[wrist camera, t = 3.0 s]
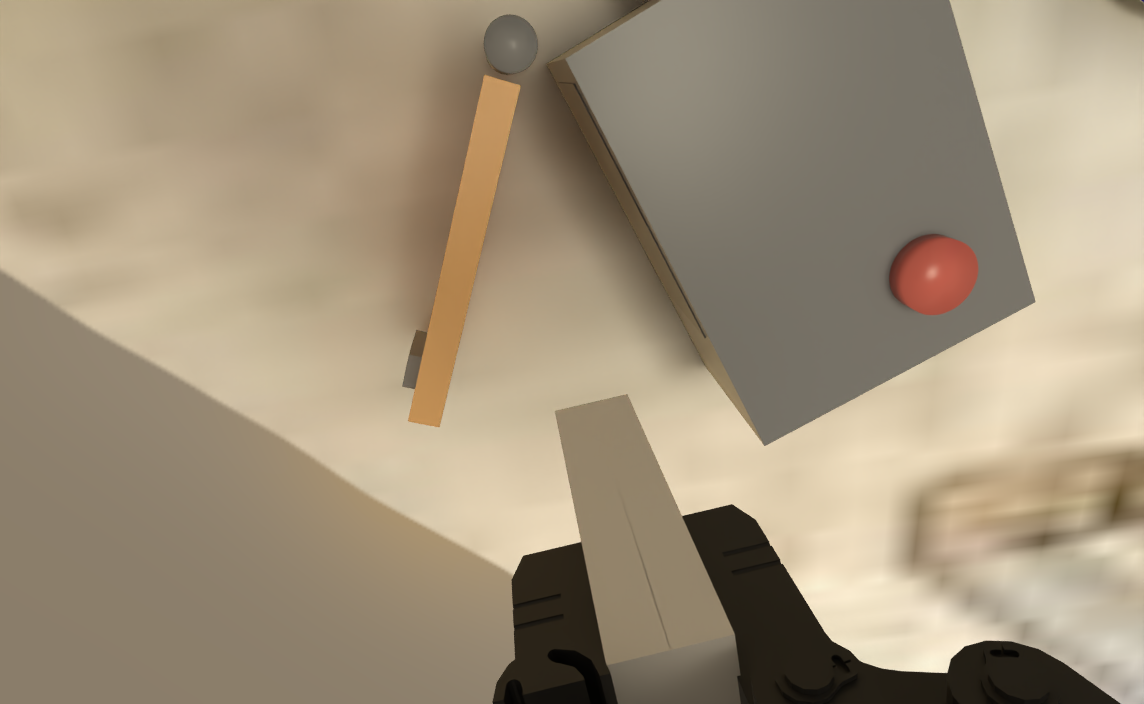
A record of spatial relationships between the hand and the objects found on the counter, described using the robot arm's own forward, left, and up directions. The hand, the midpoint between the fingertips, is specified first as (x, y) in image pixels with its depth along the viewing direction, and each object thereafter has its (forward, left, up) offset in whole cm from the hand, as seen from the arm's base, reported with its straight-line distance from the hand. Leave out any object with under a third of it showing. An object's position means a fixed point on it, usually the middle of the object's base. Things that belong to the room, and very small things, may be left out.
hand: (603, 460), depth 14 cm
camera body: (0, +9, -15) cm, 17 cm away
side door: (-4, -1, -14) cm, 15 cm away
